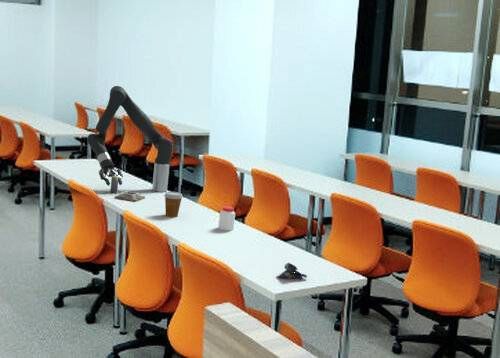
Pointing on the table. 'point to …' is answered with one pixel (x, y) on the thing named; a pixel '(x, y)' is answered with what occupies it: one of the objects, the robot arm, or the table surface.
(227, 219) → the pill bottle
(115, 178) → the plug
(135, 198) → the socket plate
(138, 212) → the table surface
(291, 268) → the black spring clamp
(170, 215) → the disposable coffee cup
